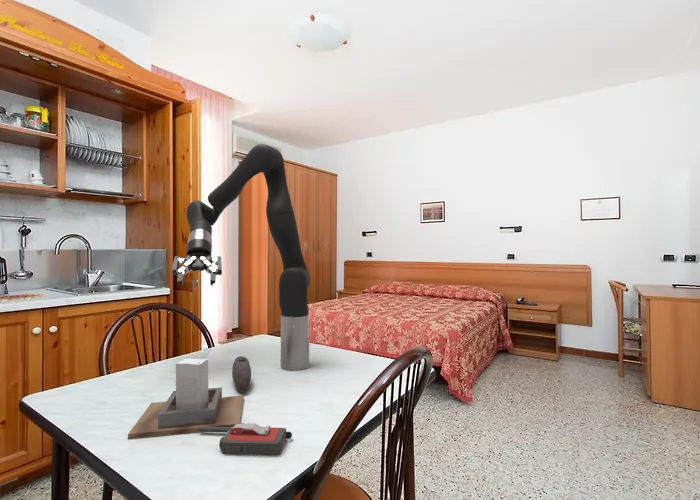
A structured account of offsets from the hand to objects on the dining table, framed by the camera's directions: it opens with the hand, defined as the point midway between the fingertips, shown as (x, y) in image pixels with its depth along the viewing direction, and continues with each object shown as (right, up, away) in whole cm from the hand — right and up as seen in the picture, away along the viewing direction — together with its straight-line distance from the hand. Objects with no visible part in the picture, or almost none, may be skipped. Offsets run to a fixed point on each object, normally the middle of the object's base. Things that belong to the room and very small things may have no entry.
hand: (196, 283), depth 111 cm
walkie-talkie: (+24, -29, -36) cm, 53 cm away
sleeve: (+9, -29, -25) cm, 39 cm away
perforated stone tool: (+15, -29, -6) cm, 33 cm away
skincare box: (+9, -28, -25) cm, 39 cm away
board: (+9, -29, -25) cm, 39 cm away
